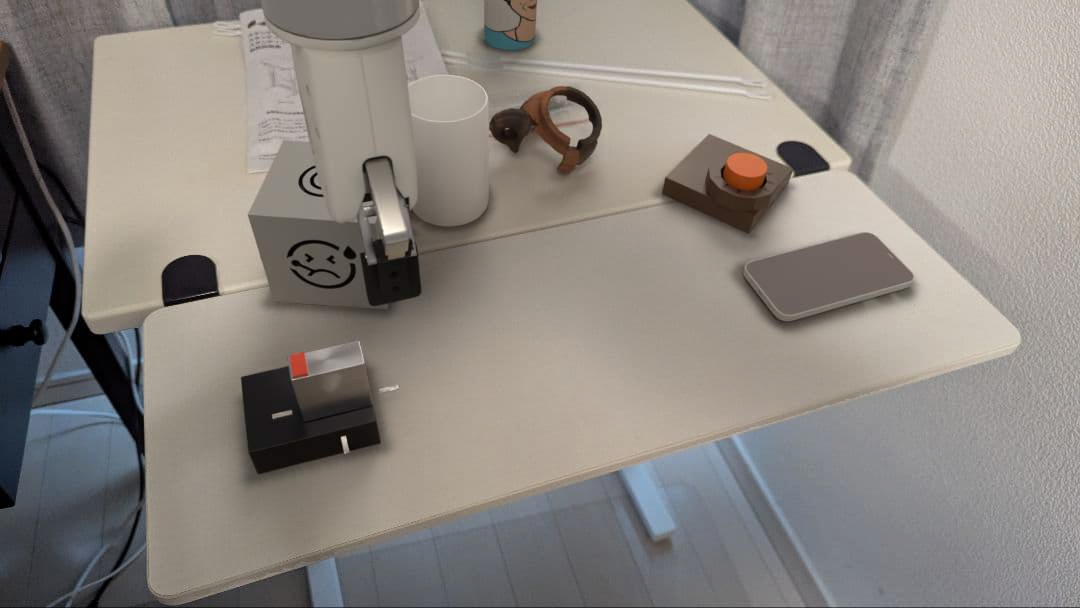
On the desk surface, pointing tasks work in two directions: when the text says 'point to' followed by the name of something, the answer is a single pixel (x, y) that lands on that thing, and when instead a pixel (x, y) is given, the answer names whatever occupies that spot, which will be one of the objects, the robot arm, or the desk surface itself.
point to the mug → (450, 149)
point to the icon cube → (307, 236)
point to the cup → (510, 23)
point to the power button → (745, 171)
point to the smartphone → (827, 276)
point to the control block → (723, 184)
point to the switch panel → (298, 424)
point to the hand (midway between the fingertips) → (378, 245)
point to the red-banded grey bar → (330, 380)
